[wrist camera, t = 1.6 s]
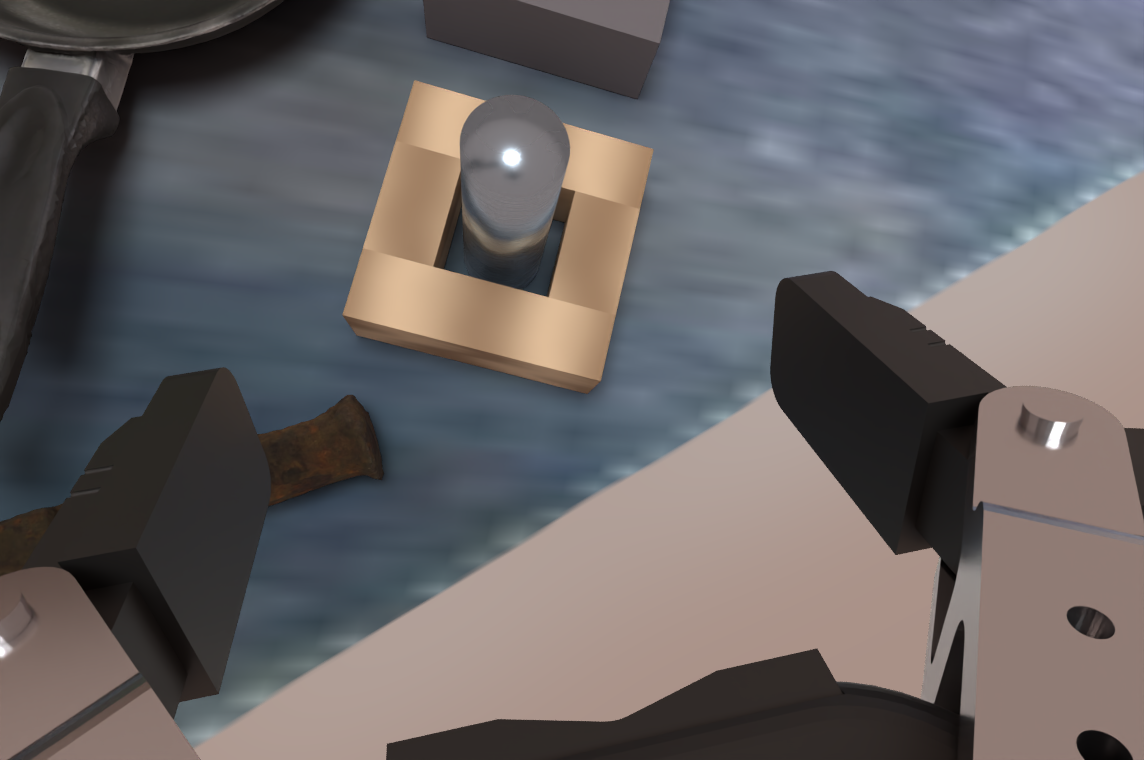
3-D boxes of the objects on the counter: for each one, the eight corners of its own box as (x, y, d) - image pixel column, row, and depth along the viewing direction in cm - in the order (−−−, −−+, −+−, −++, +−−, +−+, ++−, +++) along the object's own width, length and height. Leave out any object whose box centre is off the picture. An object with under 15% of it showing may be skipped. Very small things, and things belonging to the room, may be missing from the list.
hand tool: (370, 400, 36) (354, 385, 31) (391, 477, 35) (378, 473, 31) (-46, 516, 33) (-130, 518, 28) (-29, 603, 32) (-112, 619, 28)
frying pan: (-52, -347, 39) (-158, -518, 33) (411, -250, 42) (400, -388, 36) (-296, 447, 32) (-499, 432, 25) (293, 500, 35) (251, 499, 28)
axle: (455, 282, 37) (447, 180, 26) (474, 211, 38) (475, 81, 26) (530, 301, 38) (555, 210, 26) (548, 231, 38) (580, 112, 27)
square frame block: (356, 335, 36) (342, 315, 32) (420, 123, 38) (414, 80, 34) (587, 393, 37) (600, 381, 33) (635, 184, 39) (653, 149, 36)
